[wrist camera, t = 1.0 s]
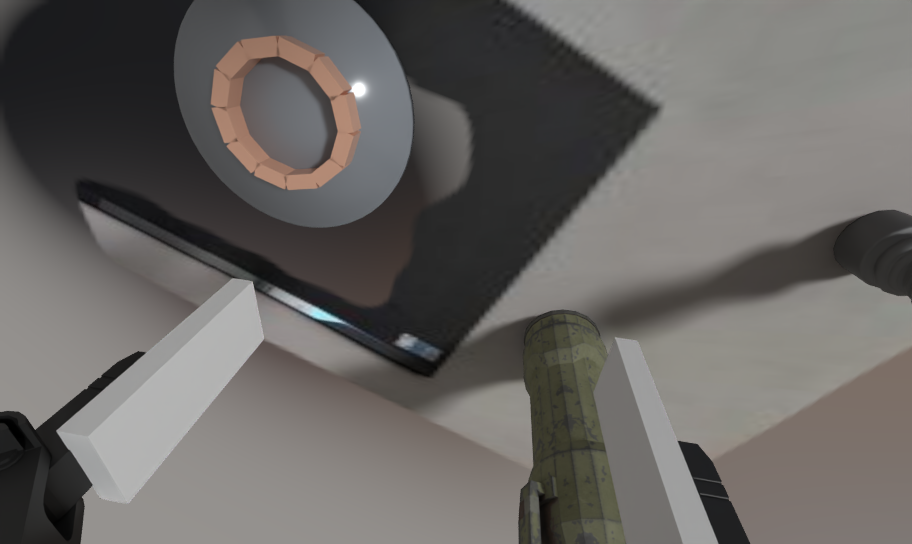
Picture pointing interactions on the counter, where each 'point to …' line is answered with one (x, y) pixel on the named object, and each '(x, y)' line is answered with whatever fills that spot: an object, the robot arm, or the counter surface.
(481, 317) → the counter surface
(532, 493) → the thermos
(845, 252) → the candle holder
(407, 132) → the ring tray
